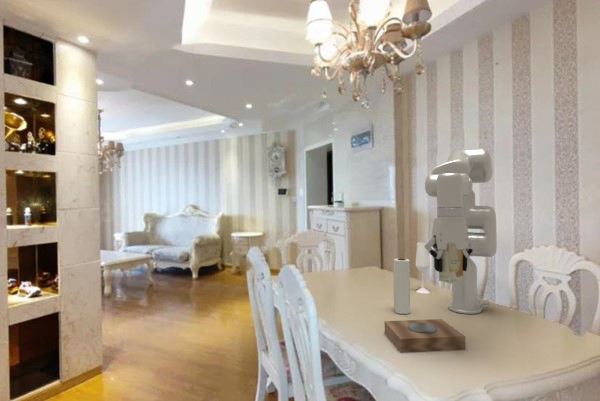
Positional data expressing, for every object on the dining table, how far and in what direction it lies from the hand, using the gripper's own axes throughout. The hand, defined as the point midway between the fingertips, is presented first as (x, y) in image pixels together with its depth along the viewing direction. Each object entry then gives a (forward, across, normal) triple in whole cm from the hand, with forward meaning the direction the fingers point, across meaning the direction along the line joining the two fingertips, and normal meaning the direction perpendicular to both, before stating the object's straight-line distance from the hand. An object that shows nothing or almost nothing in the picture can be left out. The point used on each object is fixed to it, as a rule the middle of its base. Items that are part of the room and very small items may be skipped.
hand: (450, 270), depth 114 cm
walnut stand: (+23, +7, -5) cm, 25 cm away
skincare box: (+4, 0, 0) cm, 4 cm away
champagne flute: (+24, -20, -64) cm, 72 cm away
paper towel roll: (+24, +2, -35) cm, 43 cm away
